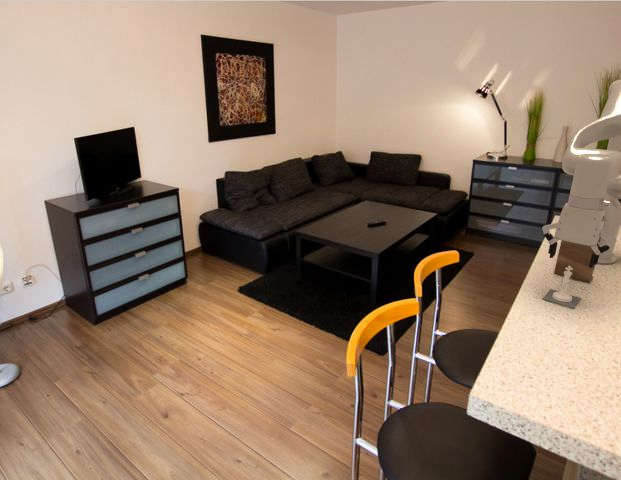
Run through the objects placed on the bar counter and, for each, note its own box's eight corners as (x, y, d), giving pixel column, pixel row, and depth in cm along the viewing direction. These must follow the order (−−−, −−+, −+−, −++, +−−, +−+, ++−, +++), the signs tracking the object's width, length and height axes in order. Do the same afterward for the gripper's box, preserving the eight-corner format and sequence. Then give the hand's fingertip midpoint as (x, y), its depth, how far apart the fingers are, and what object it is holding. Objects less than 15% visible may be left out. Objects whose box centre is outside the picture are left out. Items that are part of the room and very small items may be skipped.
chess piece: (574, 302, 114) (583, 270, 111) (555, 301, 115) (563, 268, 112) (568, 294, 119) (575, 263, 115) (549, 293, 120) (556, 261, 116)
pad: (550, 290, 122) (550, 289, 122) (581, 299, 117) (581, 297, 117) (542, 299, 117) (542, 298, 117) (574, 309, 112) (574, 308, 112)
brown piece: (558, 269, 136) (565, 235, 132) (593, 278, 130) (602, 243, 126) (553, 274, 133) (561, 239, 129) (589, 283, 126) (598, 247, 122)
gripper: (628, 204, 104) (611, 265, 110) (552, 193, 115) (541, 249, 122) (622, 211, 99) (605, 275, 105) (544, 199, 110) (533, 257, 117)
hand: (571, 261), depth 114 cm, fingers open, 9 cm apart
